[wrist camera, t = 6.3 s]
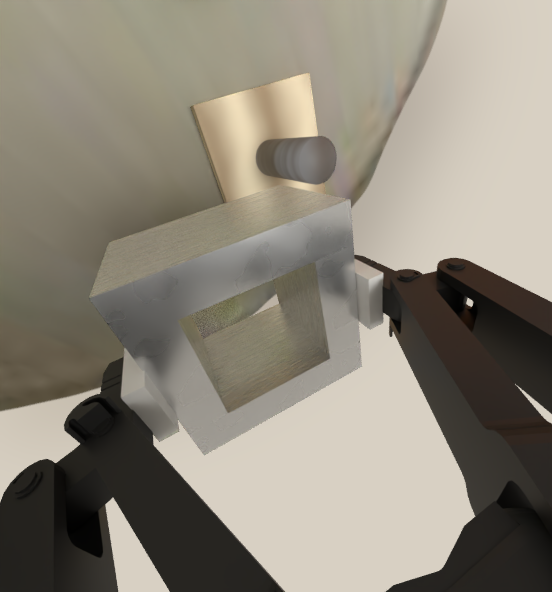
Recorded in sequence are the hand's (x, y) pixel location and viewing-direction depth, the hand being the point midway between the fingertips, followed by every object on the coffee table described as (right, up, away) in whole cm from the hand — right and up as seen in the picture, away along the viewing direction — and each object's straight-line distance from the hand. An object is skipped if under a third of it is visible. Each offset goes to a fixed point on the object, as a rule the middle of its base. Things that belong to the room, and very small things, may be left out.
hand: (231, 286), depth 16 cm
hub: (0, 0, 0) cm, 0 cm away
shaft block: (+2, +14, +13) cm, 20 cm away
